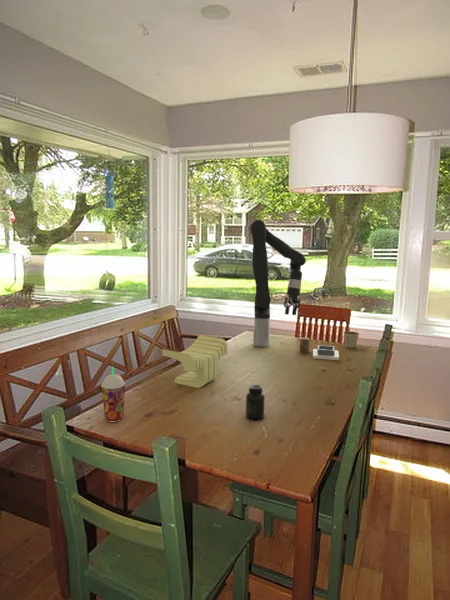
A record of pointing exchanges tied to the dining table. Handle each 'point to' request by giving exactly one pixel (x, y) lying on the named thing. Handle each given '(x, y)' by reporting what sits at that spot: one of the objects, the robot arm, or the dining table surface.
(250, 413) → the supplement bottle
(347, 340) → the flower pot
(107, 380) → the smoothie
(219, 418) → the dining table surface
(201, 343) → the slatted curved stool
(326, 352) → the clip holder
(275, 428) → the dining table surface
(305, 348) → the walnut block
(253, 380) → the dining table surface
